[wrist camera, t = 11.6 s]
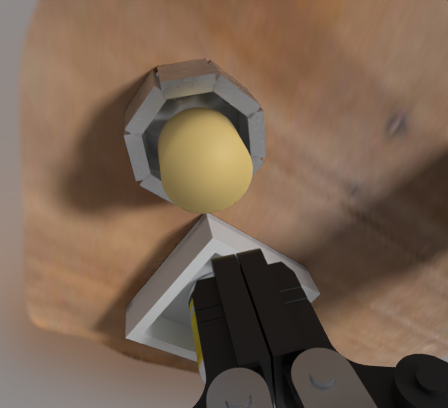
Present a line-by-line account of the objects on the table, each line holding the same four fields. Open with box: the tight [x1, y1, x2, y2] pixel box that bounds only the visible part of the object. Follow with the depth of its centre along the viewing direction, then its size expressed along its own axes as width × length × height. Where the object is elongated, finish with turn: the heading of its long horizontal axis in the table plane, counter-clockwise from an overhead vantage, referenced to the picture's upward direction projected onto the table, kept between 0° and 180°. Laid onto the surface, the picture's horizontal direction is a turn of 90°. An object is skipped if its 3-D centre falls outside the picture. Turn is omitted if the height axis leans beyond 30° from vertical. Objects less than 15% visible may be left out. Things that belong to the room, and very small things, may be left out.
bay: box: [125, 213, 320, 362], centre depth 28 cm, size 10×10×3 cm
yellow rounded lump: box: [158, 107, 253, 214], centre depth 18 cm, size 4×4×3 cm
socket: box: [124, 59, 266, 206], centre depth 21 cm, size 7×7×3 cm
